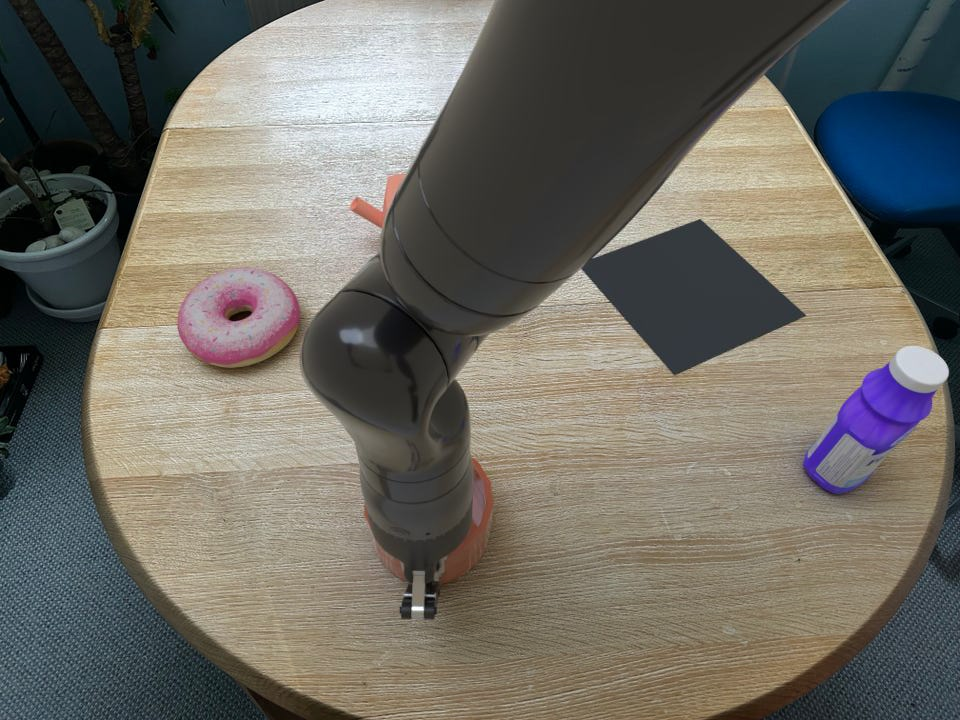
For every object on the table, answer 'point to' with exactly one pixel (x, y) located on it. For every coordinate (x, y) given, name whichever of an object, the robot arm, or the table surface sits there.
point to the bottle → (875, 419)
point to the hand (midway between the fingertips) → (427, 578)
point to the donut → (238, 340)
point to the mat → (690, 294)
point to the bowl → (471, 545)
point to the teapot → (370, 211)
